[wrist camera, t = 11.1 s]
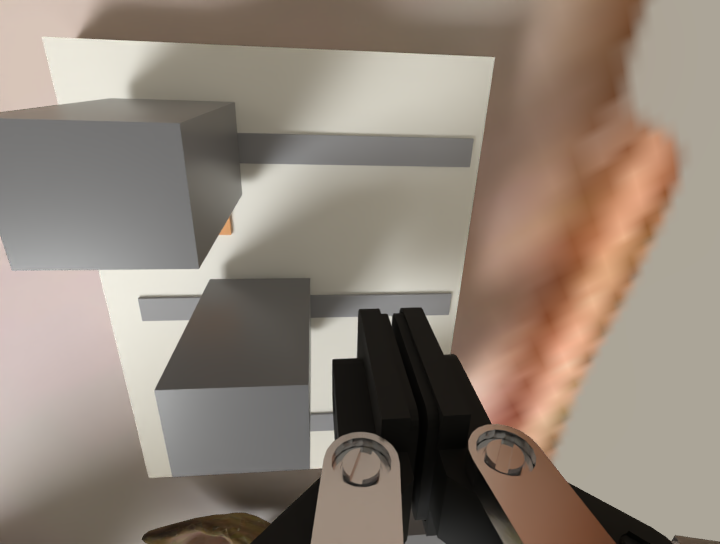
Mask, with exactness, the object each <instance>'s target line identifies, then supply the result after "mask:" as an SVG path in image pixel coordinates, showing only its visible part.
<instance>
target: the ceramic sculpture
mask: <svg viewBox="0 0 720 544" xmlns="http://www.w3.org/2000/svg"><path fill="white" fill-rule="evenodd" d="M270 524H271V523H269V522H267V521H265V520H263V519H261V518H259V517H257V516H254V515H251V514H247V513H230V514H221V515H211V516H205V517H199V518H194V519H190V520H186V521H183V522H179V523H175V524H171V525H168V526H164V527H161V528H157V529H154V530H151V531H148V532H147V533H146V534H144V536H143V538H142V540H143V541H144V542H145V543H147V544H250V543H251V542H252V541H253V540H254V539H255V538H256V537H257V536H259V535H260V534H261V533H262V532H263V531H264V530H265V529H266V528H267V527H268V526H269V525H270Z"/></svg>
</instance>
